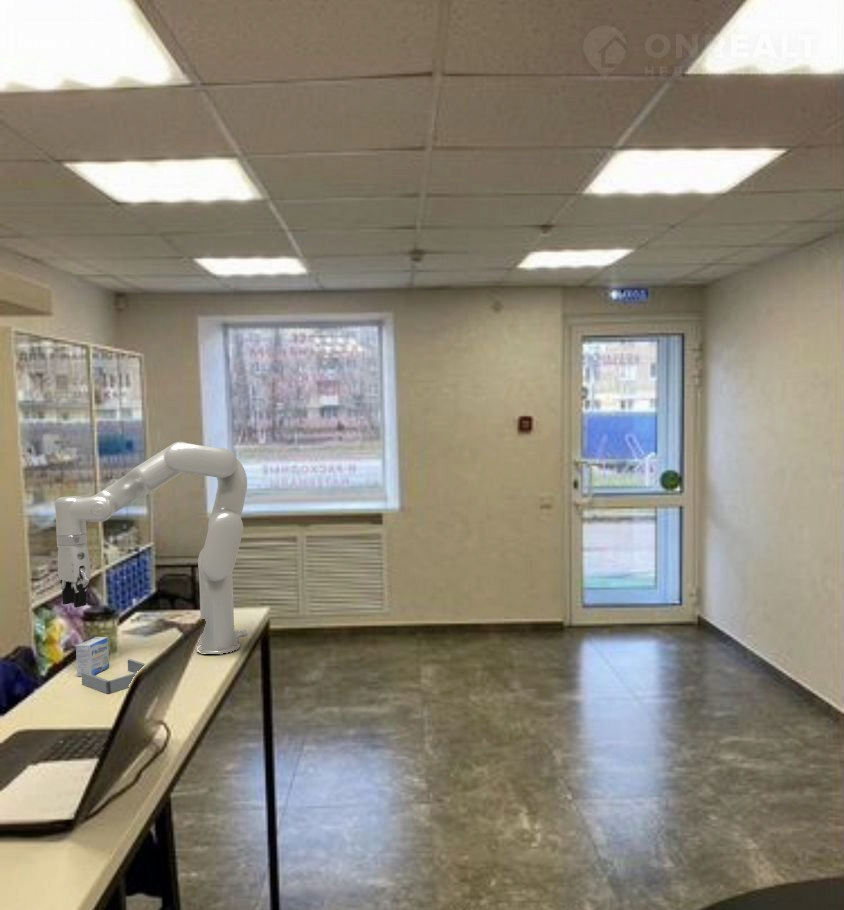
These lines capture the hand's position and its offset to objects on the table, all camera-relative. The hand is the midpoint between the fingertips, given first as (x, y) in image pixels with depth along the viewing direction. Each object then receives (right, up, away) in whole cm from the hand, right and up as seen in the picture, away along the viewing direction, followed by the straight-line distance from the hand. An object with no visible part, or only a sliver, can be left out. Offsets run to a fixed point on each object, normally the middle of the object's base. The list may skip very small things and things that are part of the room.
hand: (74, 604), depth 201 cm
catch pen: (+18, -17, -13) cm, 28 cm away
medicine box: (+8, -18, -5) cm, 20 cm away
